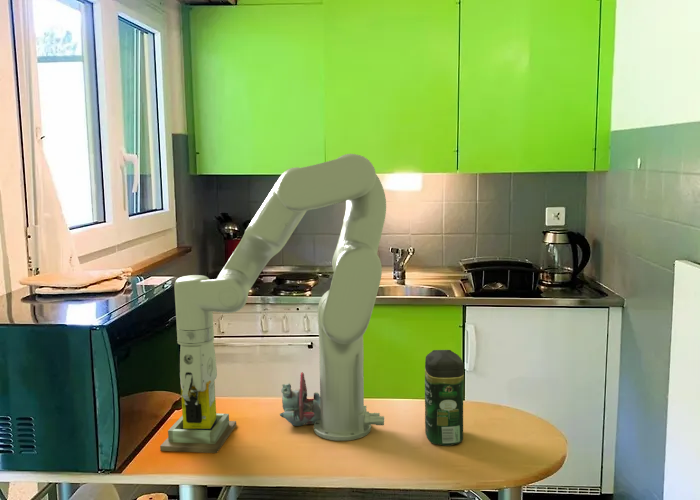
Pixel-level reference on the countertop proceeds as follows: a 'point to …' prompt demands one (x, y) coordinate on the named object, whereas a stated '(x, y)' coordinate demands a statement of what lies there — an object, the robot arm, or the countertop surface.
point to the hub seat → (199, 436)
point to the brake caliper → (300, 405)
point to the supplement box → (203, 409)
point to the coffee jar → (444, 397)
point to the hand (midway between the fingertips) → (199, 415)
